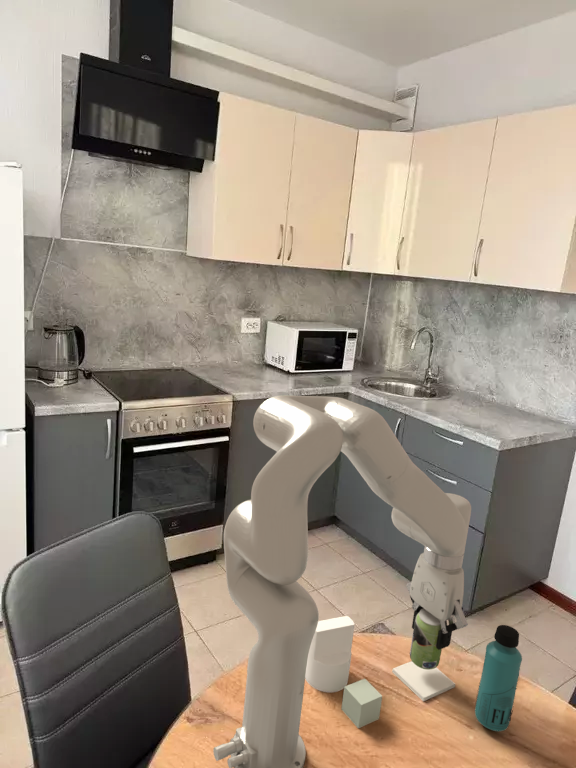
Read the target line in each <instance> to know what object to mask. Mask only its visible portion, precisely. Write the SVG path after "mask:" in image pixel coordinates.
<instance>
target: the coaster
mask: <svg viewBox="0 0 576 768" xmlns="http://www.w3.org/2000/svg"><path fill="white" fill-rule="evenodd" d="M392 673H393V675H395V676H396V677H397V678H398V679H399V680H400V681H401V682H402V683H403V684H404V685H405V686H406V687H408V689H410V690H411V691H412V692H413V693H414V695H416V696H417V697H418V698H419V699H420V700H421V701H422V702H425V701H427V700H429V699H432V698H433V697H436V696H439V695H440V694H443V693H445V692H448V691H450V690H451V689H455V687H456V683H455V682H454V681H453V680H452V679H451V678H449V677H448V676H447V675H446V674H445V673H444V672H443V671H441V670H440V669H439V668H438V667H436V668H434V669H423V668H420V667H418V666H416V665H415V664H414V663H413V662H412V660H411V661H408V662H406V663H403V664H401V665H398V666H396V667H393V668H392Z"/></svg>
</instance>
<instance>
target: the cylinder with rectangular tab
mask: <svg viewBox="0 0 576 768" xmlns="http://www.w3.org/2000/svg"><path fill="white" fill-rule="evenodd" d="M354 631H355V622H354V621H353V619H351V617H349V616H348V615H345V616H339V617H338V616H337V617H333V618H328V619H324V620H318V624H317V628H316V631H315V634H314V636H313V639H312V642H311V645H310V649H309V654H308V659H307V666H306V674H305V682H307V684H308V685H309V686H310V687H312V688H313V689H315V690H317V691H320V692H323V693H337V692H339V691H342V690H344V687H345V686H347V685H348V681H349V678H350V677H349V676H350V666H351V661H352V647H353V639H354Z"/></svg>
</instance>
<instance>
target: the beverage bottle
mask: <svg viewBox="0 0 576 768" xmlns="http://www.w3.org/2000/svg"><path fill="white" fill-rule="evenodd" d="M493 638H494V640H492V641H490V642H489V643H487V645H486V648H485V655H484V658H483V659H484V660H483V666H482V671H481V677H480V681H479V683H478V690H477V694H476V698H475V703H474V704H475V706H474V714H475V718H476V720H477V721H478V722H479V724H480V725H482V726H483V727H484V728H486V729H488V730H491V731H494V732H503V731H506V730H507V729H508V728H509V726H510V723H511V720H512V716H513V711H514V709H513V708H514V705H515V702H514V701H515V698H516V691H517V690H518V685H519V682H520V681H519V678H520V672H521V664H522V661H523V656H522V654H521V652H520V650H519V649H518V648H517V647H518V646H519V642H520V641H519V640H520V633H519V631H518V630H517V629H516V628H514V627H512V626H510V625H506V624H501V625H500V624H499V625H498V626H497V627H496V630H495V633H494V637H493Z"/></svg>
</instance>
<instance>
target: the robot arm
mask: <svg viewBox="0 0 576 768" xmlns="http://www.w3.org/2000/svg"><path fill="white" fill-rule="evenodd" d="M252 422H253V430H254V433H255V435H256V437H257V438H258V440H259V441H260V442H261V443H262V444H263V445H265V446H266V447H268V448H270V449H272V450H273V451H275V454H274V455H273V456H272V457H271V458H270V459H269V460H268V461H267V462H266V464H265V465H264V466H263V467H262V468H261V470H260V471H259V472H258V474H257V475H256V477H255V479H254V480H253V484H252V485H251V494H250V499H247V500H245V501H242V502H241V503H239V504H238V505H236V506H235V508H233V510H232V511H231V512H230V514H229V515H228V517H227V520H226V523H225V524H224V530H223V549H224V564H225V576H226V585H227V591H228V594H229V597H230V599H231V601H232V602H233V603H234V605H235V606H236V607H237V608H238V610H239V611H241V613H242V614H243V615H244V616H245V618H247V619H248V621H249V622H250V623H251V625H252V626H253V627H254V628H255V630H256V632H257V635H258V637H257V638H258V639H257V641H256V643H255V644H254V645H253V646H252V647H251V649H250V651H249V655H248V659H247V668H246V682H245V683H246V684H245V693H244V694H245V695H244V705H243V714H242V715H243V716H242V723H241V725H242V726H241V727H237V728H236V729H235V734H234V736H233V737H232V738H231V739H230V741H229V742H227V743H222V744H219V745H217V746H214V748H213V751H212V752H213V756H214V759H215V761H216V762H219V761H220V760H223V759H226V758H227V766H228V768H304V765H305V761H306V754H307V753H306V752H307V751H306V745H305V742H304V740H303V738H302V736H301V735H300V725H301V716H302V711H303V709H302V708H303V700H304V690H305V684H306V683H305V682H306V679H305V674H306V666H307V659H308V654H309V649H310V645H311V642H312V639H313V636H314V634H315V631H316V628H317V624H318V621H319V617H320V616H319V613H320V612H319V609H318V606H317V604H316V603H317V602H316V601H315V599H314V598H313V597H312V595H311V594H310V592H308V590H307V589H306V588H305V587H304V586H303V585H301V584H300V583H299V582H298V580H300V579H301V577H302V576H303V575H304V573H305V571H306V569H307V564H308V560H309V531H308V525H309V524H308V523H309V522H308V503H309V501H308V500H309V495H310V492H311V490H312V487H313V486H314V484H315V483H316V482H317V480H318V479H319V478H320V477H321V476H322V475H323V473H324V472H325V471H326V470H327V469H328V468H330V467H331V466H332V464H333V463H334V462H335V461H336V459H338V456H339V455H340V453H343V454H344V455H345V456H346V457H347V459H348V460H349V461H350V463H351V464H352V466H353V467H355V469H356V470H357V472H358V473H359V474H360V476H361V477H362V479H363V480H364V482H366V484H367V485H368V488H370V489H371V491H372V492H373V493H374V494H375V495H376V496H377V497H379V498H380V499H381V500H382V501H384V502H385V503H386V504H388V505H389V506H391V508H392V509H391V510H392V511H391V521H392V524H393V525H394V527H395V528H396V529H397V530H398V531H399V532H401V533H402V534H404V535H405V536H406V537H408V538H411V539H412V540H413V541H416V542H417V543H419V544H421V545H422V546H424V549H423V552H422V553H420V555H419V557H418V559H417V562H416V564H415V567H414V571H413V574H412V578H411V581H409V582H407V583H406V588H407V590H408V594H409V598H410V599H411V602H412V606H411V608H412V610H413V611H414V612H413V617H412V623H411V629H412V630H414V624H415V618H416V615H417V614H418V613H419V612H420V610H421V609H423V608H424V609H426V610H427V611H428V612H429V613H431V614H432V615H434V616H435V617H436V618H438V619H439V620H440V622H441V630H439V632H438V637H437V644H436V648H437V649H438V650H440V649H445V648H447V647H449V646H450V644H451V642H452V641H451V639H452V633H453V632H454V631H457V630H459V629H463V628H466V627H468V625H469V623H468V621H467V619H466V617H465V613H464V611H463V609H462V608H463V601H464V592H465V591H464V590H465V573H464V568H463V562H464V561H463V560H464V557H465V551H466V550H465V549H466V544H467V538H468V532H469V526H470V520H471V514H472V505H471V503H470V501H469V500H468V499H466V498H465V497H464V496H462V495H459V494H455V493H449V492H445V491H443V490H442V488H441V487H439V486H438V485H437V484H436V483H435V482H434V481H433V480H432V479H431V478H430V477H429V476H427V474H426V473H425V472H424V471H423V470H421V469H420V467H418V466H417V465H416V464H415V463H414V462H413V461H412V459H411V458H410V457H409V455H408V453H407V452H406V451H405V449H404V447H403V445H402V444H401V443H400V441H399V440H398V438H397V436H396V435H395V433H394V432H393V430H392V429H391V427H390V425H389V423H388V422H387V420H385V418H384V417H383V415H382V414H380V413H379V412H378V411H377V410H374V409H372V408H370V407H369V406H366V405H362V404H360V403H357V402H354V401H351V400H349V399H346V398H343V397H337V396H325V395H324V396H320V395H289V394H288V395H284V394H282V395H275V396H271V397H269V398H268V399H266V400H264V401H263V402H262V403H261V404H260V405H259V406H258V408H257V409H256V411H255V413H254V416H253V421H252ZM455 619H456V620H455ZM447 621H448V622H447ZM229 756H230V757H229Z"/></svg>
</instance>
